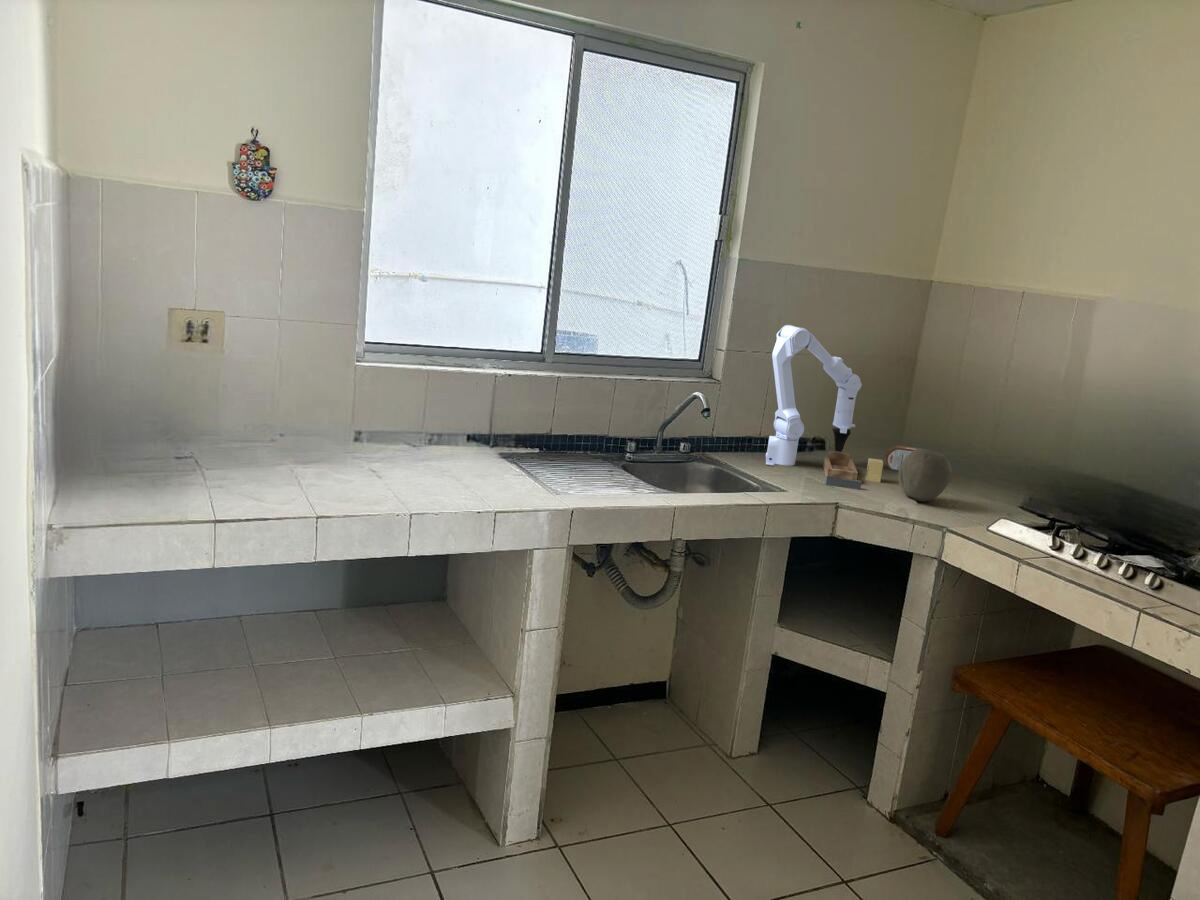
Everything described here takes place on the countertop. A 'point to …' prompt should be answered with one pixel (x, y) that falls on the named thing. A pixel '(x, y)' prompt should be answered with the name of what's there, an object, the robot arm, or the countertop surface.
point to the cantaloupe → (924, 474)
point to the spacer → (874, 470)
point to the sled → (839, 466)
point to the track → (843, 482)
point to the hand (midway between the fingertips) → (838, 451)
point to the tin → (897, 456)
